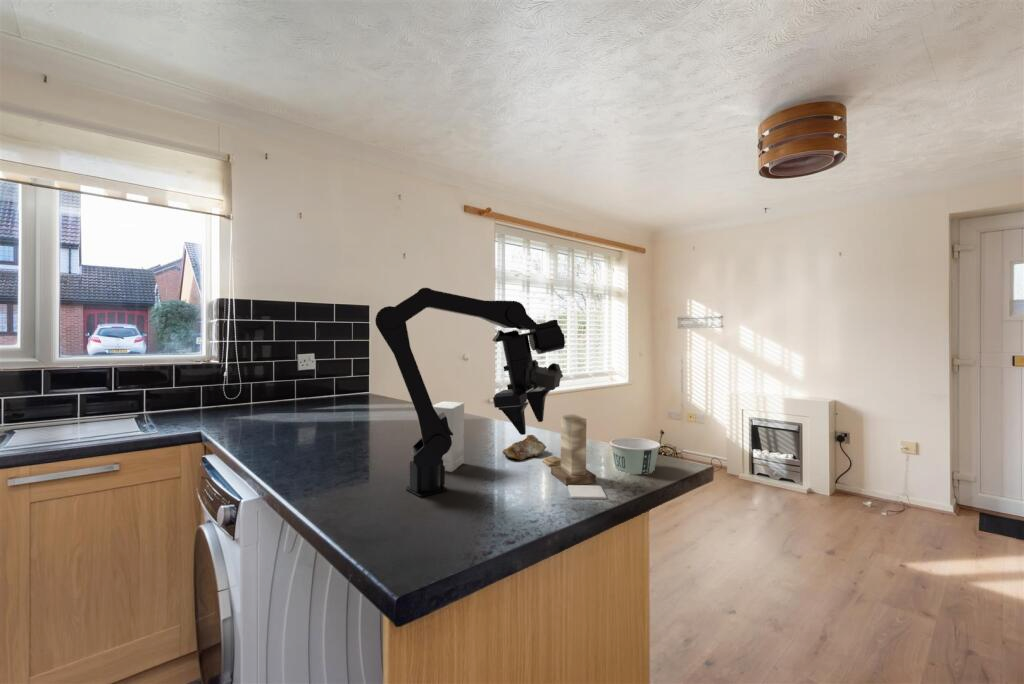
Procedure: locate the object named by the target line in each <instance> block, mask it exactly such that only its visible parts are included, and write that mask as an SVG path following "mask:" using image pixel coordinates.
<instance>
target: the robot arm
mask: <svg viewBox="0 0 1024 684" xmlns="http://www.w3.org/2000/svg"><path fill="white" fill-rule="evenodd" d="M425 309H432V310H433V309H434V310H437V311H443V312H447V313H448V312H449V313H454V314H457V315H464V316H469V317H473V318H474V317H475V318H480V319H482V320H484V321H486V322H488V323H490V324H493V325H496V326H498V327H500V328H503V329H515V330H511V331H506V332H504V331H503V330H502V329H500V330H499V329H498V330H497V333H496V335H495V336H494V337H493V338H492V341H493V343H498V342H500V343H501V342H502V346H503V351H504V352H503V353H504V356H505V362H506V365H504V366H503V372H508V378H509V382H510V383H508V384H506V388H507V389H503V390H500V391H498V392H497V393H495V394H494V396H493V398H492V400H493V405H494V408H496V409H497V408H498V411H501V412H502V413H503V414H504V415H505V416H506V417H507V418H508V420H509V421H510V423H511V424H512V425H513V427H514V428H515V429H516V431H517V432H518V433H519V435H521V436H522V435H523V436H524V435H526V433H527V428H526V417H525V409H526V408H527V407H528V405H529V406H530V408H531V410H532V413H533V414H534V417H535V418H536V420H537V422H538V423H542V422H543V421H544V417H545V416H544V414H545V404H546V397H547V396H548V394H549V393H550V392H551V391H554V390H555V389H556V388H560V384H561V379H562V378H564V375H563V373H562V372H563V371H562V369H561V368H560V367H561V366H560V364H559V363H555V362H553V363H552V362H551V364H549V365H548V367H546V366H545V367H542V366H539V362H538V361H537V359H533V356H532V351H535V352H536V353H537V354H538V355H542V354H545V353H551V352H555V351H560V350H564V348H565V346H566V345H565V344H566V339H565V334H564V333H563V330H562V328H561V326H560V325H559V323H558V320H557V319H551V320H548V321H546V322H540V323H537V322H536V321H535V320H534V319H533V318H532V317H530V316H529V315H528V314H527V310H526V308H525V306H524V305H523V304H522V302H519V301H516V300H483V299H478V298H474V297H470V296H464V295H459V294H455V293H449V292H445V291H439V290H436V289H435V290H434V289H432V288H430V287H422V288H420V289H419V290H417V292H415V293H414V294H412V295H411V296H409V297H408V298H406V299H404V300H402V301H401V302H400V303H398V304H397V305H395V306H384V307H383V308H381V309H379V311H378V312H377V313H376V315H375V325H376V327H377V329H378V331H379V333H380V334H381V336H382V338H383V339H384V341H385V343H386V344H387V345H388V347H389V349H390V350H391V352H392V353H393V356H394V358H395V361H396V363H397V366H398V369H399V371H400V374H401V377H402V379H403V382H404V384H405V387H406V390H407V391H408V394H409V397H410V399H411V403H412V405H413V407H414V409H415V412H416V415H417V420H418V426H419V430H420V436H421V437H420V438H419V439H418V441H417V442H416V443H414V444H413V446H412V447H411V453H412V459H413V460H410V461H409V485H408V486H406V487H405V490H407V491H409V492H410V493H412V494H414V495H416V496H418V497H420V498H421V497H426V496H430V495H435V494H438V493H442V492H446V491H448V487H447V486H445V484H446V483H445V482H446V481H445V480H446V471H445V466H444V465H443V459H442V457H443V455H444V454H446V453H447V452H448V451H449V450H450V447H451V445H452V440H451V436H450V435H452V436H453V433H452V431H451V429H450V428H449V426H448V421H447V417H446V415H445V414H444V412H443V413H441V414H439V415H438V414H437V413H436V411H435V409H434V408H433V405H434V404H433V403H432V400H431V398H430V395H429V392H428V390H427V387H426V385H425V382H424V380H423V377H422V374H421V372H420V369H419V366H418V364H417V360H416V359H415V355H414V353H413V351H412V349H411V348H412V347H411V344H410V338H409V331H408V326H407V323H406V322H408V321H409V320H411V319H412V318H413V317H415V316H416V315H418V314H419V313H421V312H422V311H424V310H425ZM516 329H517V330H516ZM518 330H519V331H527V330H528V331H529V332H525V333H520V332H519V331H518Z"/></svg>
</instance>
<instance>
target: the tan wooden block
mask: <svg viewBox="0 0 1024 684" xmlns="http://www.w3.org/2000/svg"><path fill="white" fill-rule="evenodd" d="M560 458H561V470H562V471H564V472H565V473H567V474H568V475H569V476H578V475H586V469H587V418H585V417H582V416H580V415H578V414H575V413H574V414H561V415H560Z"/></svg>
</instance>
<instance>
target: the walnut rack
mask: <svg viewBox="0 0 1024 684" xmlns="http://www.w3.org/2000/svg"><path fill="white" fill-rule="evenodd" d="M550 474H551V475H552V476H554V477H555V478H556V479H558V480H559V481H560V482H561V483H562V484H563V485H565V486H568V485H583V484H584V485H585V484H586V485H587V484H597V475H596V474H595V473H593V472H592V471H590V470H589V469H588V468H586V475H578V476H569V475H568V474H567V473H565V472H564V471H562V470H561V466H550Z"/></svg>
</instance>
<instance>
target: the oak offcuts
mask: <svg viewBox="0 0 1024 684" xmlns="http://www.w3.org/2000/svg"><path fill="white" fill-rule="evenodd" d="M542 463H544V464H545V465H546V466H547V467H550V468H551V467H554V466H561V457H558V456H556V455H555V456H549V457H544V458H543V459H542Z"/></svg>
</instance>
